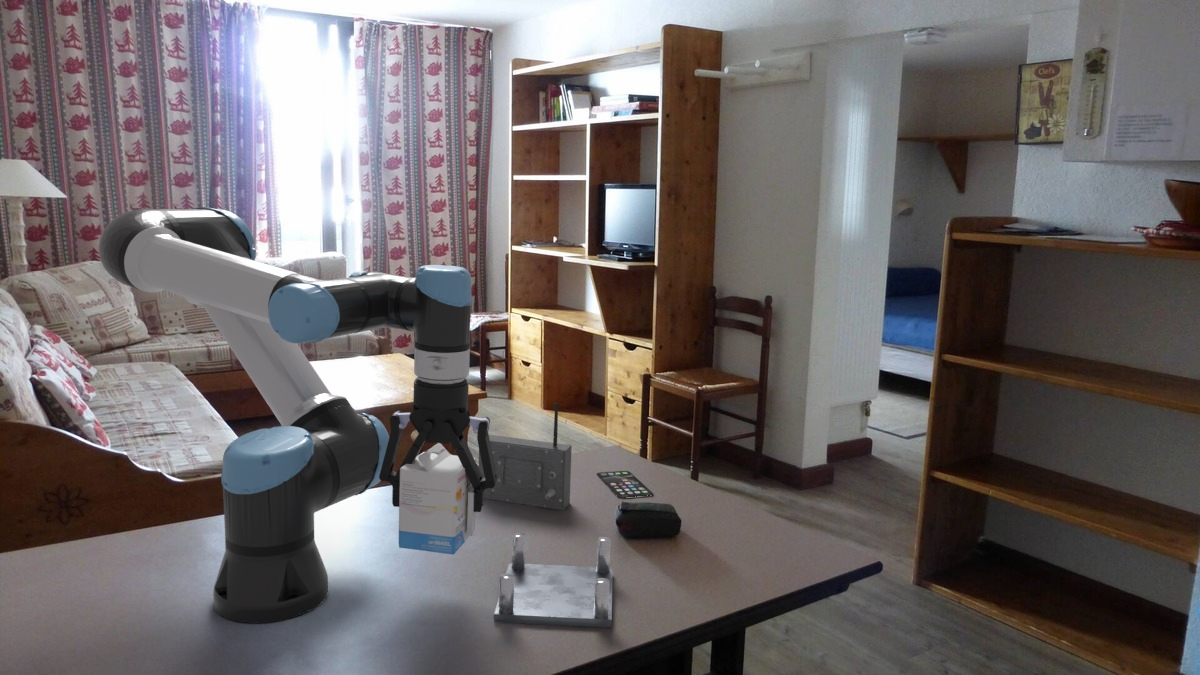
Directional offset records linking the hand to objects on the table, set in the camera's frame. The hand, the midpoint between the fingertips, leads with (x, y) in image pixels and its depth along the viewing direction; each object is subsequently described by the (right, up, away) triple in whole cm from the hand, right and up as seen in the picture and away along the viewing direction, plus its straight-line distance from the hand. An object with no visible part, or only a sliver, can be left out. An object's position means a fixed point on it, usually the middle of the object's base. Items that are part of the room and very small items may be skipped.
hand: (437, 529), depth 124 cm
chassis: (+17, -10, +1) cm, 20 cm away
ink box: (0, -2, 0) cm, 2 cm away
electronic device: (+8, -4, +37) cm, 38 cm away
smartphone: (+28, -2, +49) cm, 57 cm away
